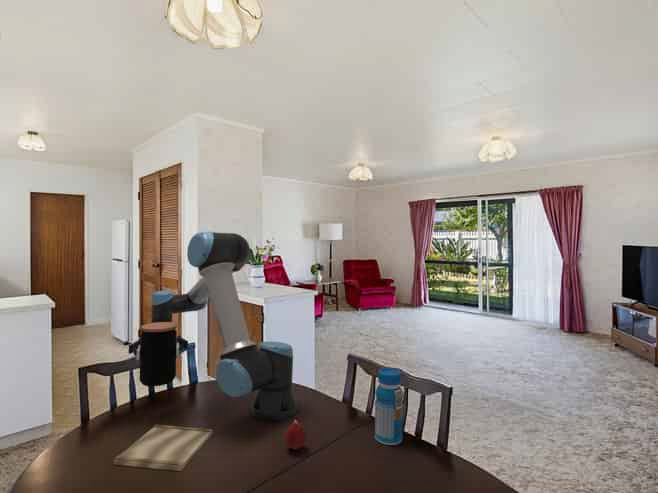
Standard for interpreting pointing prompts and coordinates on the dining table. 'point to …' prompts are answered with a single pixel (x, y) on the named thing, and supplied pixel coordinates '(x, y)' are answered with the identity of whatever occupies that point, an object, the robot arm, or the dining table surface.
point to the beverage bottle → (389, 407)
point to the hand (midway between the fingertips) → (158, 353)
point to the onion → (295, 435)
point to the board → (165, 448)
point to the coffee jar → (158, 353)
